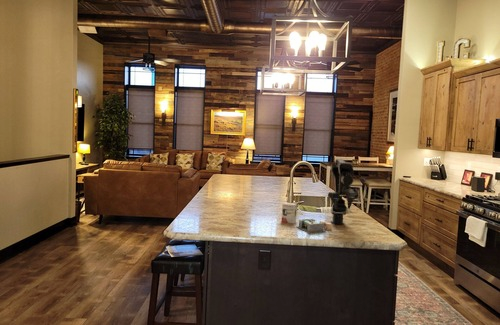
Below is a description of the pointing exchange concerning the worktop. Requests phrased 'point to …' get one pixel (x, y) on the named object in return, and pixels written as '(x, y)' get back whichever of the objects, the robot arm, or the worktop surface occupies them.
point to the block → (327, 225)
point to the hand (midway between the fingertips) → (342, 209)
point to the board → (309, 222)
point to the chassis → (311, 226)
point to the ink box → (289, 212)
